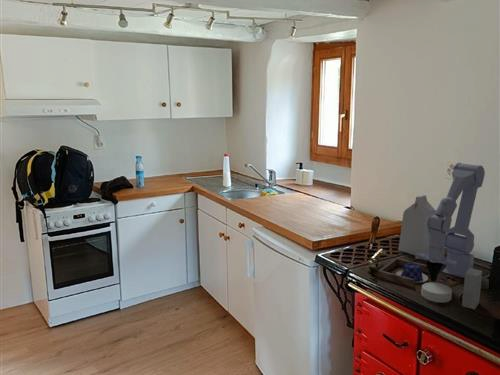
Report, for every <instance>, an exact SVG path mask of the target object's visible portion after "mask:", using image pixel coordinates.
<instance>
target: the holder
mask: <svg viewBox="0 0 500 375" xmlns="http://www.w3.org/2000/svg"><path fill="white" fill-rule="evenodd" d="M407 263H414V264H417V265H419V266H420V267H421V272H422V273H426V274H430V272H429V270H428V267H427V266H426V264H424V263H419V262H414V261H410V260H407V259H403V258H398V257H395V258H394V259H392V260H390V261H389V262H388V263H387V264H384V266H383V267H381V268H380V269H379V270H377V278H379V279H382V280H385V281H390V282H393V283H396V284H399V285H400V284H401V285H404V286H408V287H410V288H414V287H415V283H414V282H415V281H414V279H411V278H407V277H404V276H401V275H396V273H391V271H392V269H394V268H396V266H399V267H403V268H404V266H405V264H407Z"/></svg>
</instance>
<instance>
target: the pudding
mask: <svg viewBox="0 0 500 375" xmlns="http://www.w3.org/2000/svg"><path fill="white" fill-rule="evenodd" d="M395 274H396V275H400V276H404V277H407V278H411V279H414V284H417V283H419V284H420V283H426V281H427V282H428V280H429V277H428V276H427V275H426V274H425V273H424V272H422V271H421V267H420V266H419V265H417V264H414V263H407V264H405V266H404V267H403V268H402V270H398V271H397V272H396V273H395Z"/></svg>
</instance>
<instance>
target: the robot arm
mask: <svg viewBox="0 0 500 375" xmlns="http://www.w3.org/2000/svg"><path fill="white" fill-rule="evenodd" d="M451 175H452V179H453V180H452V182H451V185H450V187H449V190H448V192H447V195H446V197H444V198H442V199H441V200H440V203H439V204H438V206H437V208H436V209H435V210H436V212H435V214H434V215H431V216H430V217H429V219H428V222H427V227H428V232H429V234H430V235H429V247H428V254H423V253H416V255H414V256H415V259H416V260H423V261H425V262H426V261H427V262H426V264H425V265H426V266H427V267H428V270H429V276H430V281H431V282H434V283H436V281H437V280H438V276H439V274H440V271H441V269H442V268H443V267H444V266H445V268H444V269H443V270H442V273H443V274H448V275H451V276H455V277H460V278H464V279H465V273H466V272H467V271H468V269H469V268H472V269H474V261H475V260H474V259H475V258H474V256H475V255H474V254H472V253H471V252H472V251H473V250H474V247H475V235H474V233H472V231H471V230H470V229H469V226H470V223H471V218H472V214H473V210H474V206H475V201H476V197H477V193H478V189H479V188H482V186H483V182H484V179H485V175H486V171H485V168H484V166H482V165H476V164H469V163H461V162H457V163H455V164H454V166H453V168H452V174H451ZM460 195H461V198H460V201H459V206H458V203H457V201H458V198H459V197H460ZM457 206H458V211H457V213H456V217H455V218H456V219H455V221H454V222H455V223H454V226H453V227H451V225H452V220H453V219H452V217H453V215H454V213H455V211H456V209H457ZM445 251H447V254H446V252H445ZM445 254H446V255H447V256H446V257H445Z"/></svg>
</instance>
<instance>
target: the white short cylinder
mask: <svg viewBox="0 0 500 375" xmlns="http://www.w3.org/2000/svg"><path fill="white" fill-rule="evenodd" d="M452 293H453V290H452V288H451V287H450V286H448V285H446V284H443V283H440V282H434V281H431V282H424V283H423V284H422V285H421V293H420V294H421V297H423V298H424V299H425V300H427V301H429V302H433V303H440V304H441V303H442V304H443V303H449V302H450V301H451V300H452V296H453V294H452Z"/></svg>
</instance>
